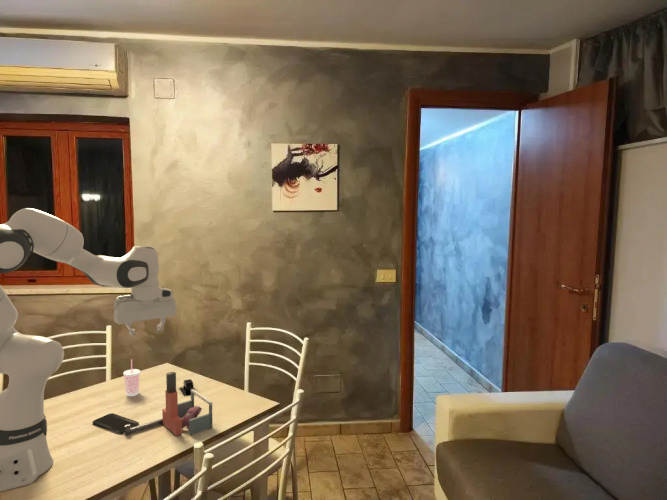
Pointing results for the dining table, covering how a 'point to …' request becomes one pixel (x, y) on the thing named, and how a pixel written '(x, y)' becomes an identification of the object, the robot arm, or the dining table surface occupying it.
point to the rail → (141, 427)
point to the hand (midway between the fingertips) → (146, 332)
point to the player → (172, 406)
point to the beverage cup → (132, 381)
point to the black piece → (187, 387)
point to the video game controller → (190, 415)
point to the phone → (114, 423)
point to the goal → (198, 422)
